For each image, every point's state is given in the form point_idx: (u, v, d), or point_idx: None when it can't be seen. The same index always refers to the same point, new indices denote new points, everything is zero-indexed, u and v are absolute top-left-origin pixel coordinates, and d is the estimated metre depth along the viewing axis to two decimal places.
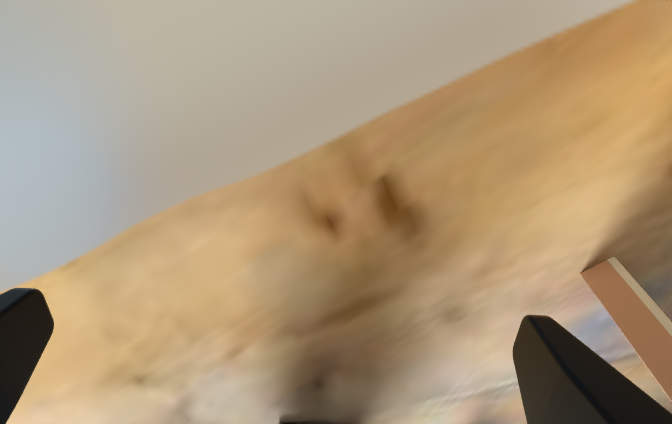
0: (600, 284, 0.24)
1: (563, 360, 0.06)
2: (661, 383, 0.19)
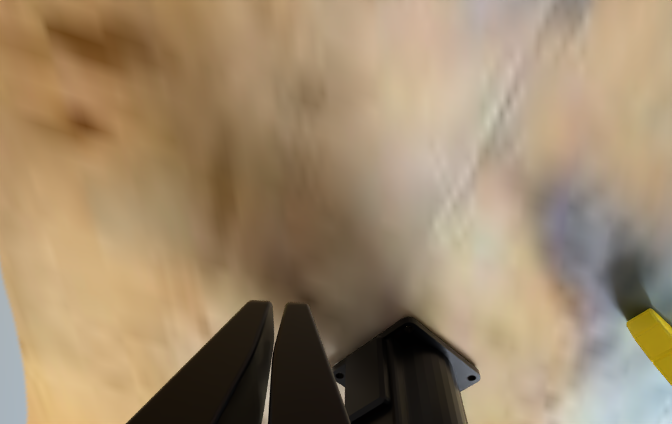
0: None
1: (280, 344, 0.07)
2: None
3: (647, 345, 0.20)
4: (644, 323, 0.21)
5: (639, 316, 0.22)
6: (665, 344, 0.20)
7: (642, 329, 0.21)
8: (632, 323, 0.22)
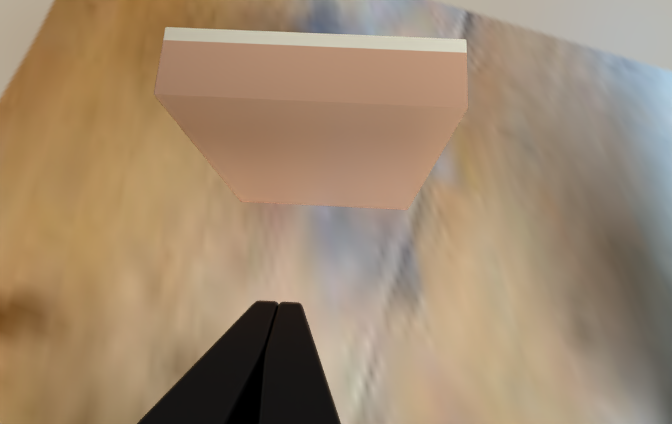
0: None
1: (271, 344, 0.07)
2: (185, 130, 0.13)
3: None
4: None
5: None
6: None
7: None
8: None
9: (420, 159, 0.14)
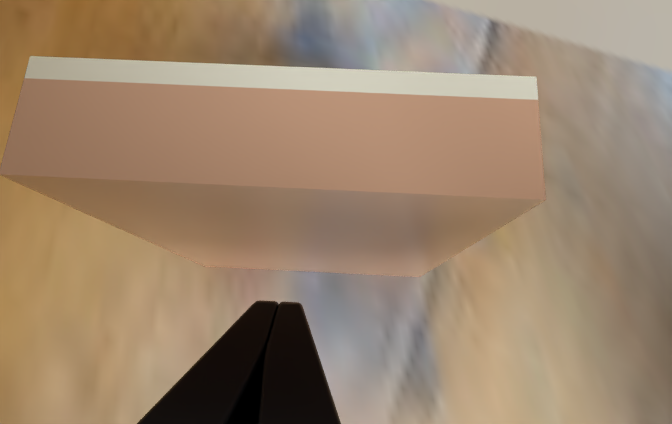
0: None
1: (271, 344, 0.07)
2: None
3: None
4: None
5: None
6: None
7: None
8: None
9: (447, 243, 0.10)
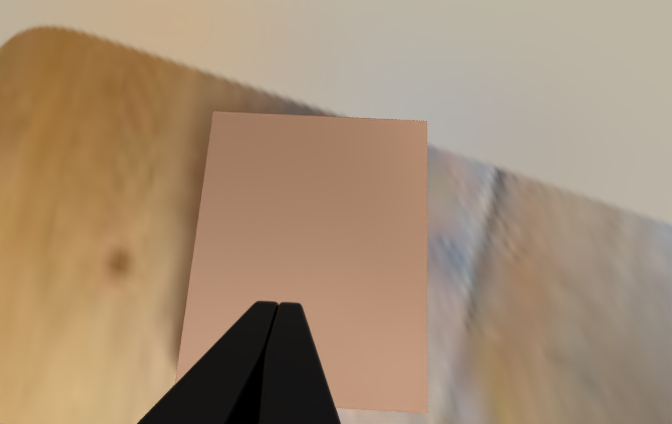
0: None
1: (271, 344, 0.07)
2: (205, 169, 0.16)
3: None
4: None
5: None
6: None
7: None
8: None
9: (411, 212, 0.15)
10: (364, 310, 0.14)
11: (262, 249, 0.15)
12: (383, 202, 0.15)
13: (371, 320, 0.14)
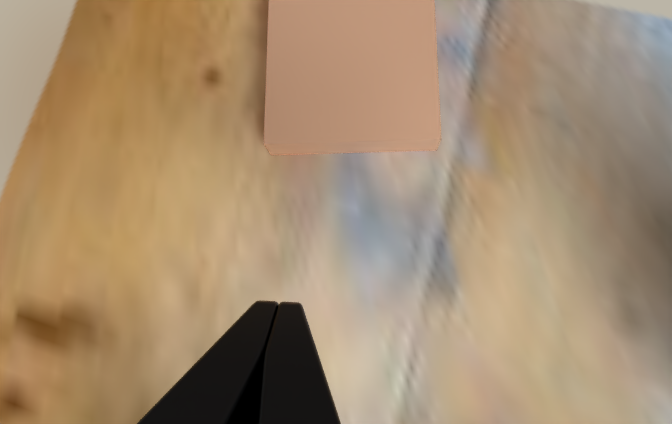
0: None
1: (271, 344, 0.07)
2: None
3: None
4: None
5: None
6: None
7: None
8: None
9: (422, 9, 0.20)
10: (392, 78, 0.20)
11: (315, 45, 0.20)
12: (401, 5, 0.20)
13: (397, 84, 0.20)
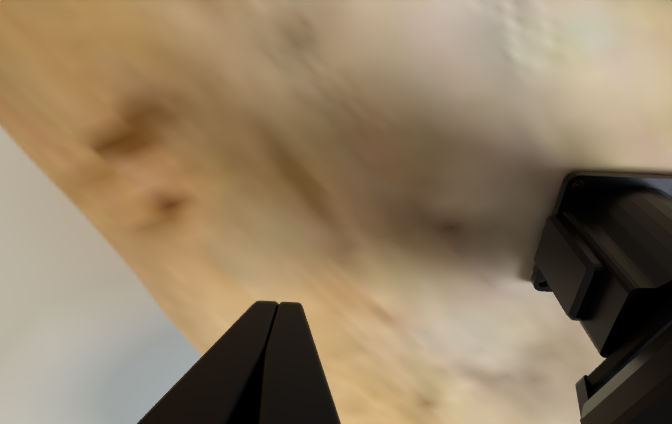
0: None
1: (271, 344, 0.07)
2: None
3: None
4: None
5: None
6: None
7: None
8: None
9: None
10: None
11: None
12: None
13: None
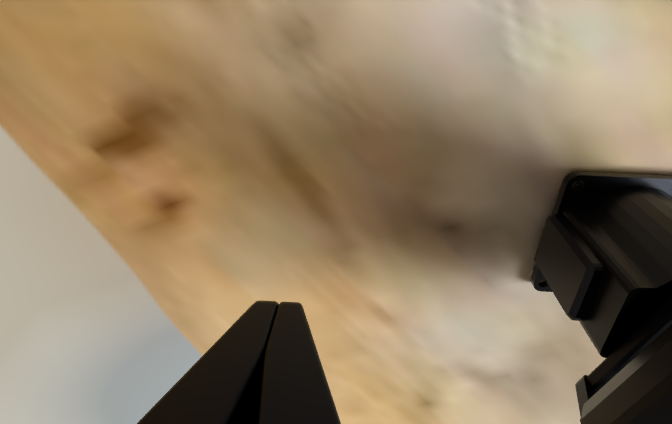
0: None
1: (271, 344, 0.07)
2: None
3: None
4: None
5: None
6: None
7: None
8: None
9: None
10: None
11: None
12: None
13: None
